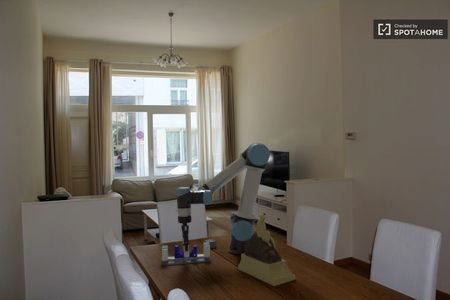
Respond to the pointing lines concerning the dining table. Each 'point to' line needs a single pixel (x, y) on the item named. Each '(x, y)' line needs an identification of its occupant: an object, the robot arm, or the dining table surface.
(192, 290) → the dining table surface
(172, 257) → the rail
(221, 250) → the dining table surface
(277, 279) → the yellow and brown statuette
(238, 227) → the robot arm
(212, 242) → the block
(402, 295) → the dining table surface
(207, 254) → the mounted modules
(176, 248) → the cable clip
